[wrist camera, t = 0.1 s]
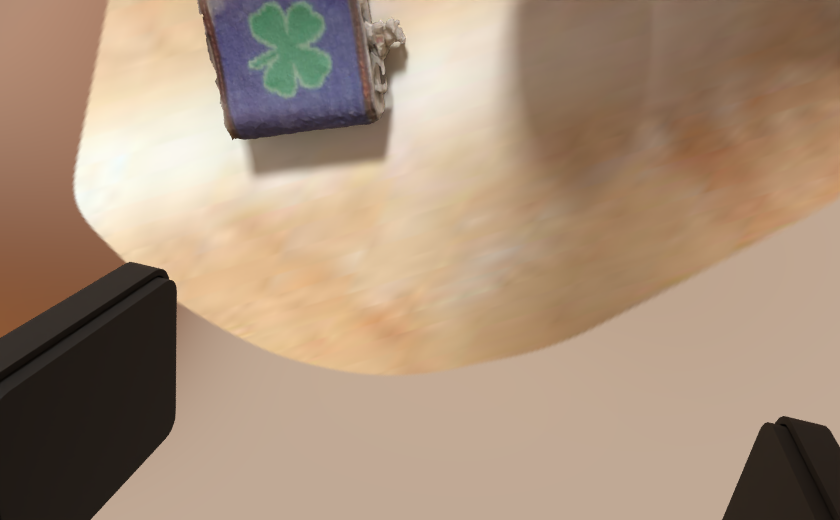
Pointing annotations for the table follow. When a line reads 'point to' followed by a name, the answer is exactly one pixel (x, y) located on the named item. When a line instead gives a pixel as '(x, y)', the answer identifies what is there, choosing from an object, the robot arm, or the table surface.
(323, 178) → the table surface
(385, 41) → the flask
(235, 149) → the table surface
